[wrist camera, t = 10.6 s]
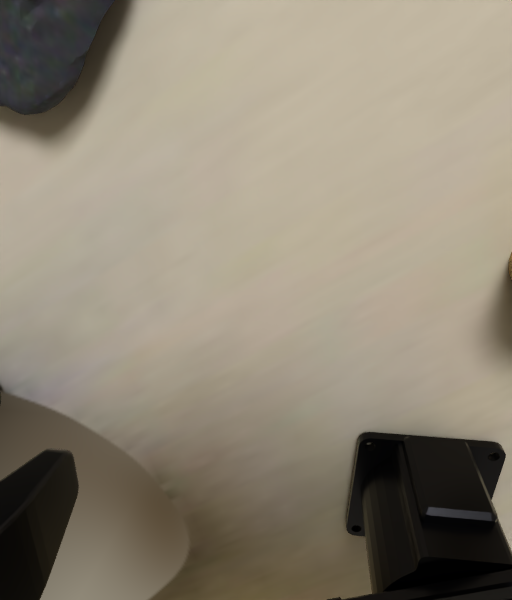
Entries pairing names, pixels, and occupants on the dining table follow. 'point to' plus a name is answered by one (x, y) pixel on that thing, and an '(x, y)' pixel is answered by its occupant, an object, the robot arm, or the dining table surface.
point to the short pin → (510, 266)
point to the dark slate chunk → (44, 49)
